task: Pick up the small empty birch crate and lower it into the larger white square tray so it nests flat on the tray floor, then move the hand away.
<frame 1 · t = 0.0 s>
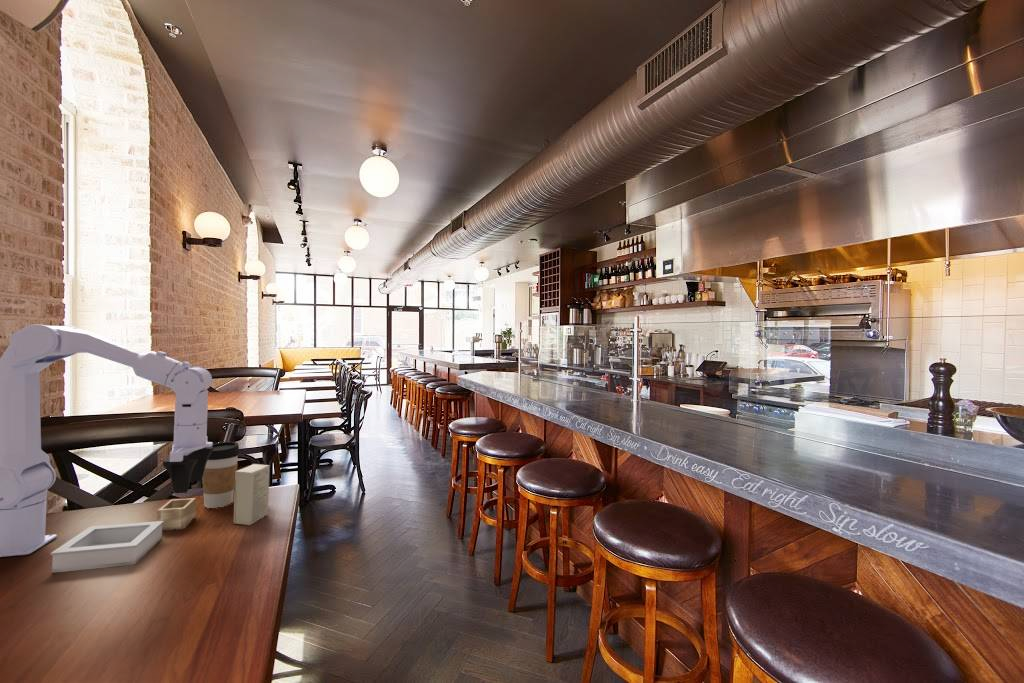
hand: (188, 486, 94), 10 cm above the table, tool pointing down, fingers open, 7 cm apart
birch crate: (176, 523, 98), on the table
white square tray: (111, 554, 84), on the table
skincare box: (251, 520, 102), on the table
coffee cup: (218, 505, 110), on the table
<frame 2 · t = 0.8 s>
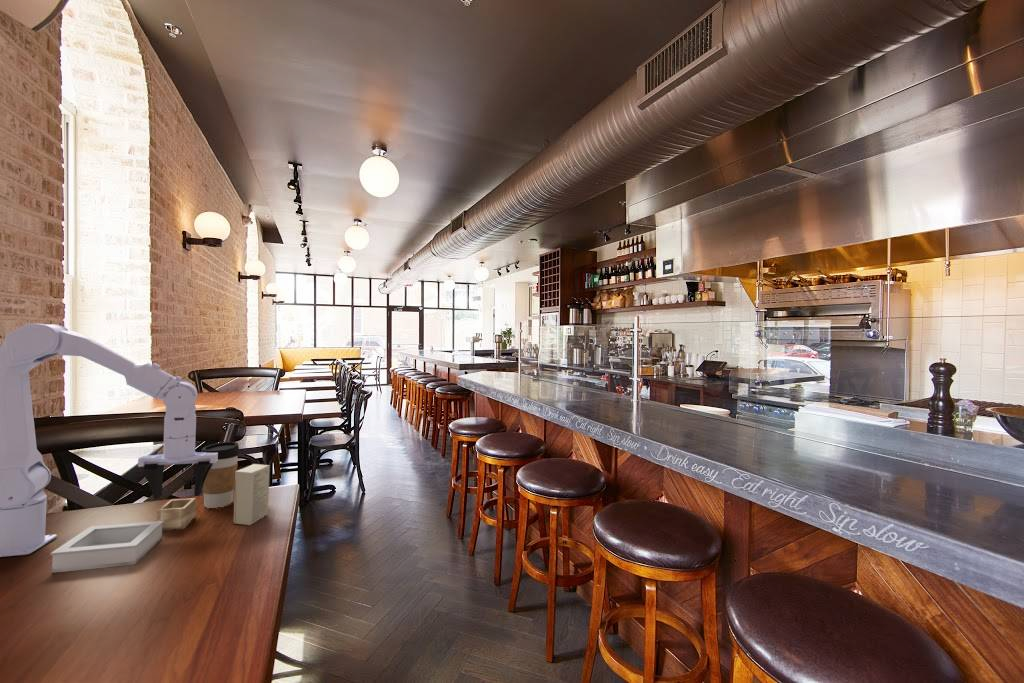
hand: (178, 496, 99), 6 cm above the table, tool pointing down, fingers open, 7 cm apart
nothing on the table moved.
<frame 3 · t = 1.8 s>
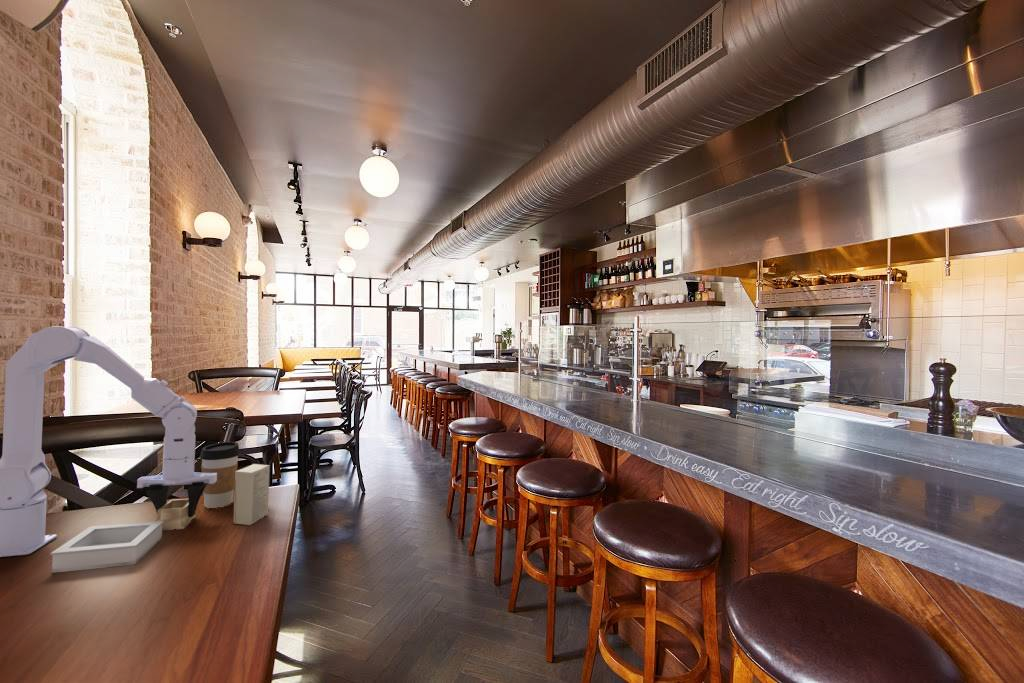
hand: (177, 516, 98), 2 cm above the table, tool pointing down, fingers closed on birch crate, 5 cm apart
birch crate: (176, 523, 98), on the table, touching gripper
everything else where it was.
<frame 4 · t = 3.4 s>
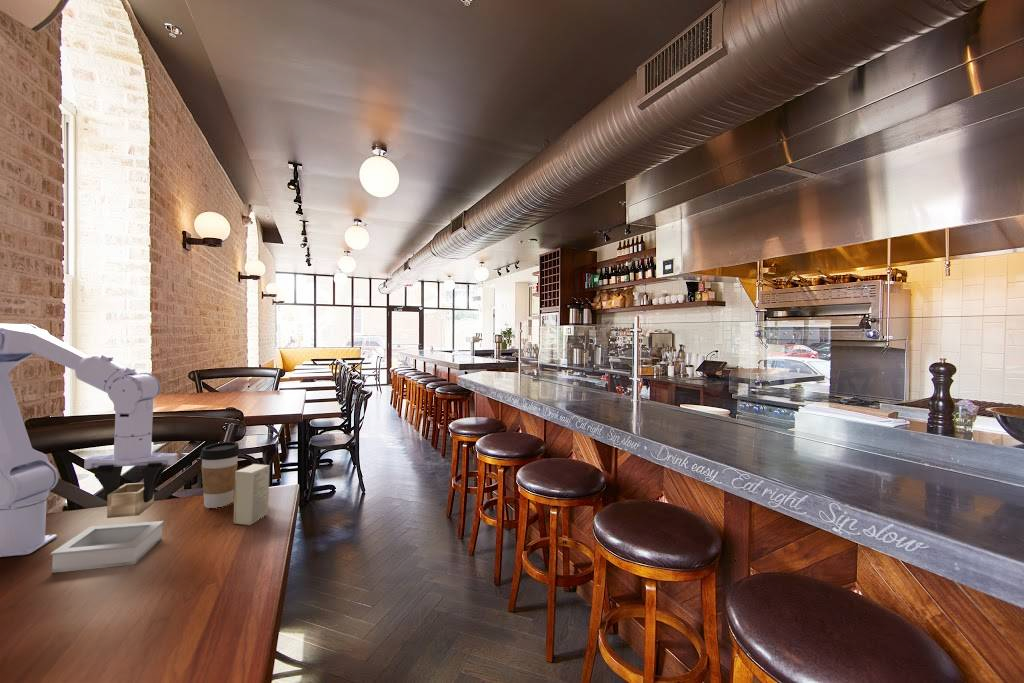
hand: (131, 501, 88), 9 cm above the table, tool pointing down, fingers closed on birch crate, 5 cm apart
birch crate: (131, 510, 88), point 7 cm above the table, touching gripper
everything else where it was.
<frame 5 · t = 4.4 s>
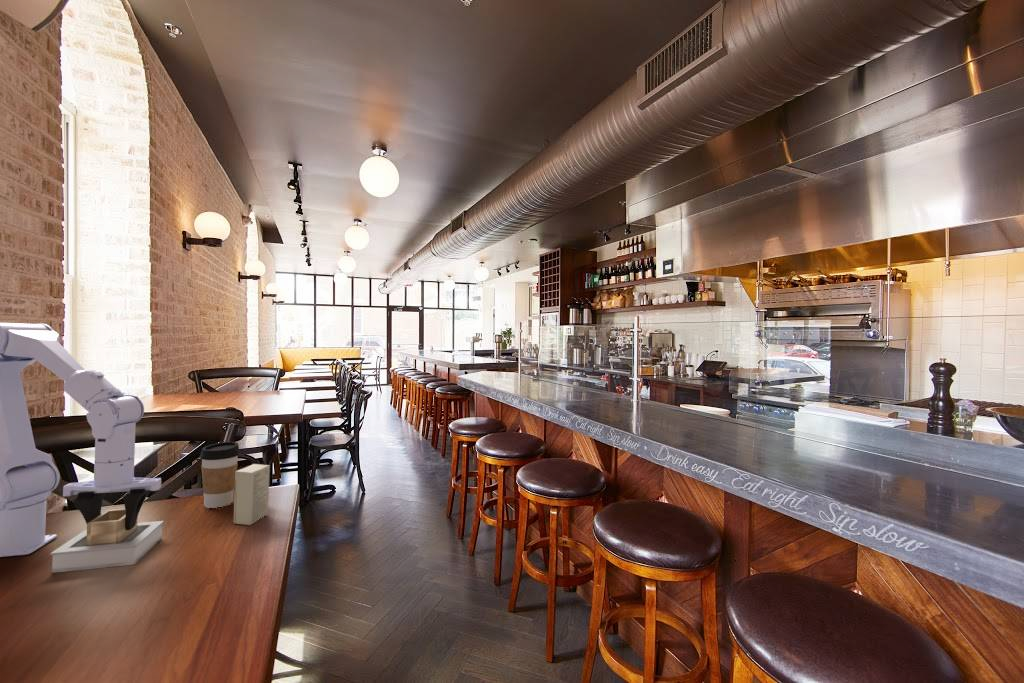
hand: (112, 529, 84), 5 cm above the table, tool pointing down, fingers closed on birch crate, 5 cm apart
birch crate: (113, 538, 85), point 3 cm above the table, touching gripper
everything else where it was.
when the fingers open (3 cm above the table, at t = 5.2 s): birch crate stays where it is, resting on white square tray.
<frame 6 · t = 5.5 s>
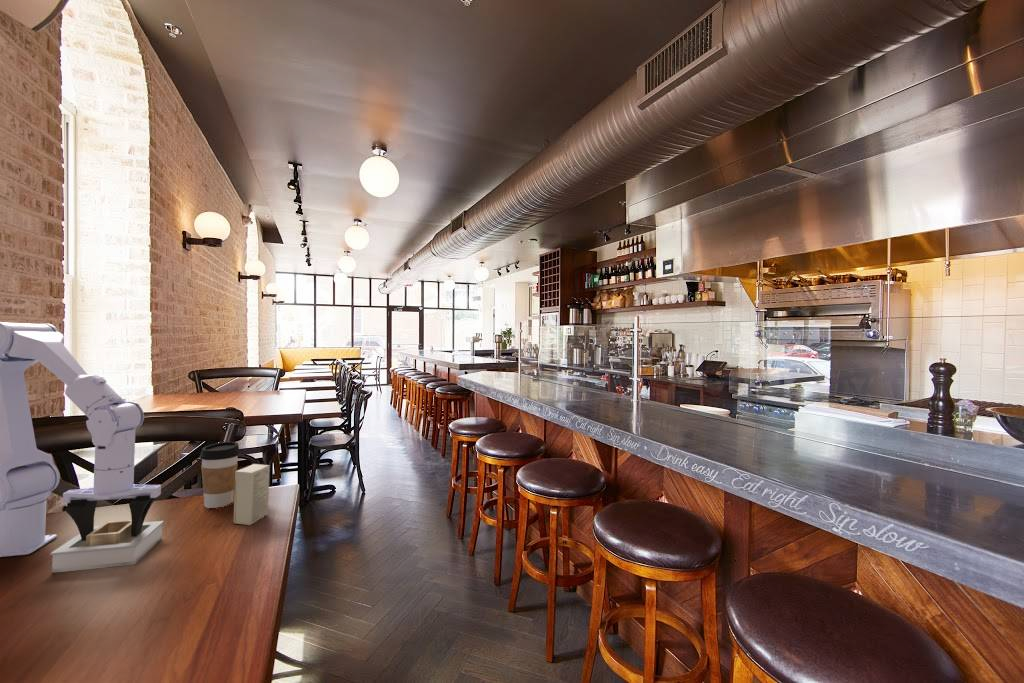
hand: (112, 536, 84), 3 cm above the table, tool pointing down, fingers open, 7 cm apart
birch crate: (111, 550, 84), point 1 cm above the table, touching white square tray
everything else where it was.
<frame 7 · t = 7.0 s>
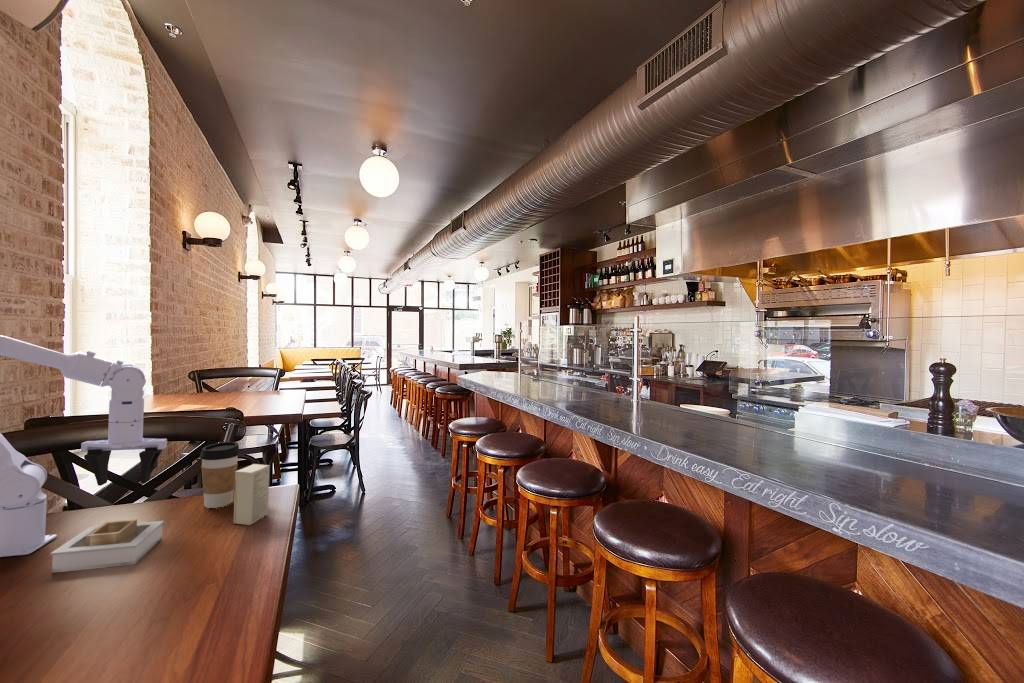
hand: (124, 482, 95), 10 cm above the table, tool pointing down, fingers open, 7 cm apart
nothing on the table moved.
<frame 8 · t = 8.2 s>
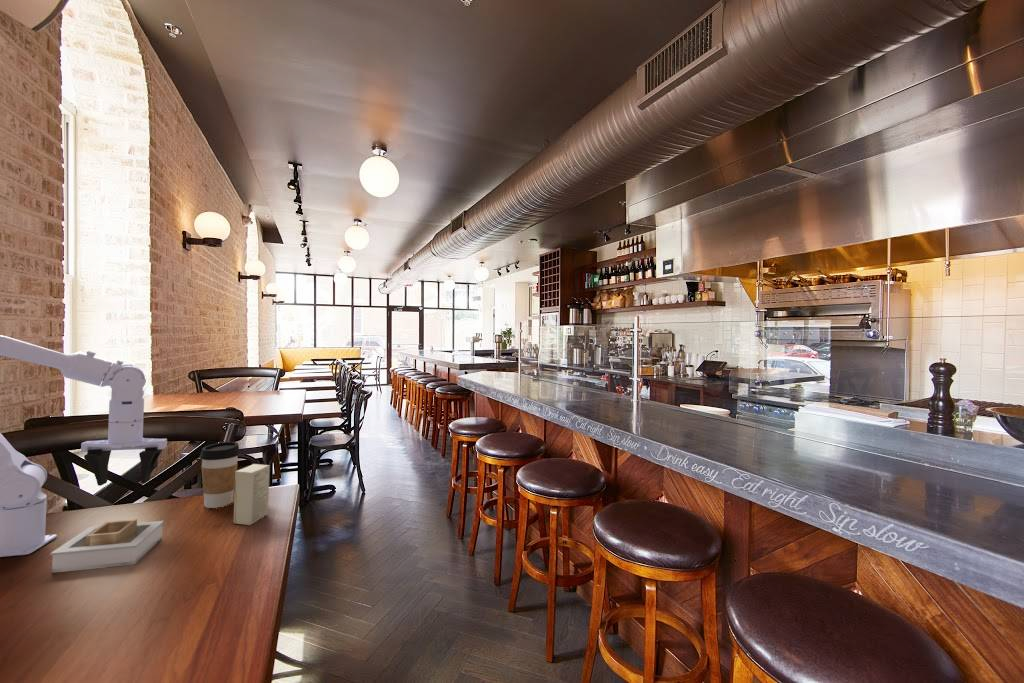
hand: (124, 482, 95), 10 cm above the table, tool pointing down, fingers open, 7 cm apart
nothing on the table moved.
at the end: birch crate 0.3 cm off-centre on the white square tray, point 0.6 cm above the white square tray's base; birch crate tilted 0°; the gripper is holding nothing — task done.
